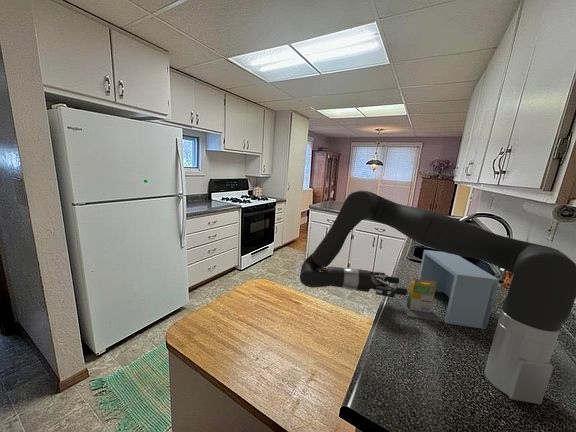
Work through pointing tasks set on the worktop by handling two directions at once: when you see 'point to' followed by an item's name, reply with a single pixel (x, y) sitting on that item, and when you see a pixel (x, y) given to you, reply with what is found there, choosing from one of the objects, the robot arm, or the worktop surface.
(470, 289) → the cubby
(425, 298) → the crayon box
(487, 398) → the worktop surface
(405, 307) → the mat
